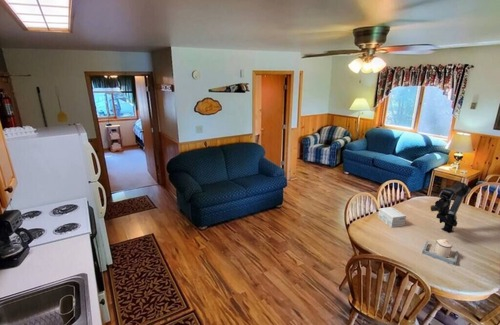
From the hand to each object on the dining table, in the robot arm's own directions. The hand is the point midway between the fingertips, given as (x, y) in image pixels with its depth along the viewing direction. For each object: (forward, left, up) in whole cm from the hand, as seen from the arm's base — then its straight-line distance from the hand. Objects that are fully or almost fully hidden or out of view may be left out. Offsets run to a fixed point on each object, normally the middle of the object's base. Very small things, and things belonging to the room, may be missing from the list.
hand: (440, 222), depth 207 cm
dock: (+20, +15, -12) cm, 28 cm away
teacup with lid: (+18, +14, -12) cm, 26 cm away
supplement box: (+14, -31, -12) cm, 36 cm away
